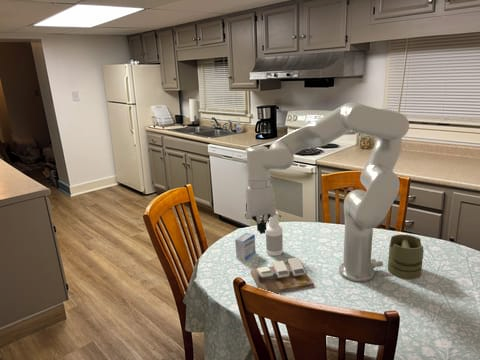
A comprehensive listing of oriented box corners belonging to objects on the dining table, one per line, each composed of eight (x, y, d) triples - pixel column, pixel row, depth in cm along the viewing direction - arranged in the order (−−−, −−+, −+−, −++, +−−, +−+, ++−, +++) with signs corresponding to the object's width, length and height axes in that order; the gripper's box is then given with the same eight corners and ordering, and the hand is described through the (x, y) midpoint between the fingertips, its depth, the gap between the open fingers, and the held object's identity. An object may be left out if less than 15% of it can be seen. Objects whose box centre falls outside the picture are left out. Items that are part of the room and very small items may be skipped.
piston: (391, 247, 128) (388, 233, 138) (389, 277, 132) (386, 261, 142) (427, 250, 125) (421, 235, 135) (423, 280, 129) (418, 264, 139)
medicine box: (244, 261, 148) (243, 241, 145) (236, 258, 150) (234, 239, 148) (256, 253, 154) (255, 234, 151) (247, 250, 156) (246, 231, 154)
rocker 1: (267, 269, 135) (267, 266, 135) (273, 275, 129) (272, 271, 128) (257, 271, 135) (256, 267, 135) (262, 277, 128) (261, 273, 128)
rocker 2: (298, 259, 137) (298, 256, 136) (304, 274, 132) (305, 272, 131) (287, 260, 137) (288, 258, 136) (294, 276, 131) (294, 273, 130)
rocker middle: (282, 263, 136) (282, 260, 136) (289, 276, 130) (289, 273, 130) (272, 264, 136) (272, 261, 135) (278, 278, 130) (278, 275, 129)
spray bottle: (263, 254, 152) (262, 214, 147) (270, 247, 158) (269, 208, 153) (279, 257, 149) (278, 216, 144) (285, 250, 155) (284, 210, 149)
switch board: (297, 265, 143) (297, 257, 142) (313, 286, 129) (313, 278, 128) (250, 272, 139) (250, 265, 138) (261, 295, 125) (261, 287, 124)
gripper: (277, 177, 129) (278, 224, 135) (235, 182, 127) (239, 231, 132) (284, 183, 122) (285, 233, 128) (240, 189, 120) (243, 240, 125)
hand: (261, 232), depth 130 cm, fingers closed
